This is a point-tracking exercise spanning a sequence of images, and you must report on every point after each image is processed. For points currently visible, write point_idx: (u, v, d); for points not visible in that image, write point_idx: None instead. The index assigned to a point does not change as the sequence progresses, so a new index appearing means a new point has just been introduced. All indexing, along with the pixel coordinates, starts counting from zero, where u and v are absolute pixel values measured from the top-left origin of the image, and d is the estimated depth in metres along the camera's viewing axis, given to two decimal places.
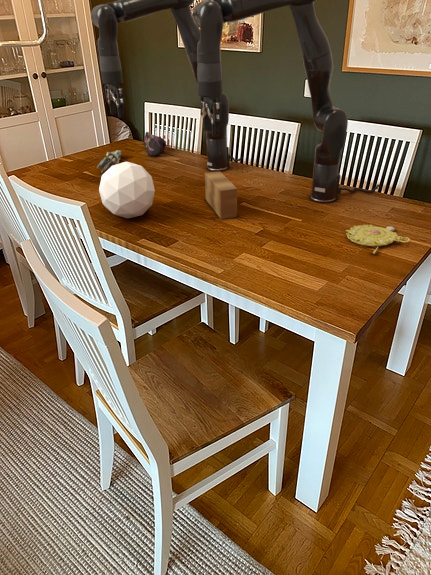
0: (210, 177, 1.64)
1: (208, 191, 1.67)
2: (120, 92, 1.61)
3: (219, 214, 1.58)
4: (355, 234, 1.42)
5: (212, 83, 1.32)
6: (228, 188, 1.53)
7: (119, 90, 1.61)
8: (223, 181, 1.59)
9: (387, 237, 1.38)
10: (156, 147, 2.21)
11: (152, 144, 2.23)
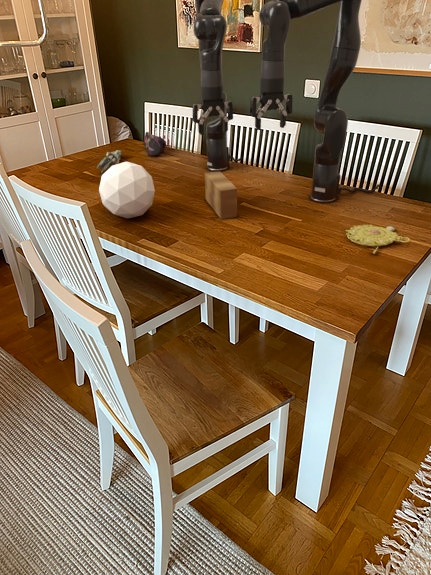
0: (210, 177, 1.64)
1: (208, 191, 1.67)
2: (193, 108, 1.52)
3: (219, 214, 1.58)
4: (355, 234, 1.42)
5: (261, 79, 1.41)
6: (228, 188, 1.53)
7: (193, 105, 1.52)
8: (223, 181, 1.59)
9: (387, 237, 1.38)
10: (156, 147, 2.21)
11: (152, 144, 2.23)
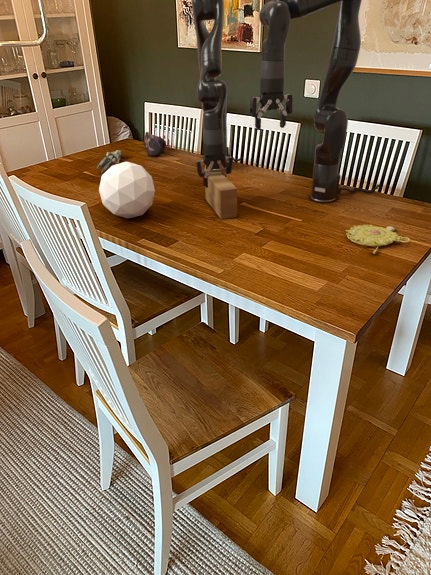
0: (210, 177, 1.64)
1: (208, 191, 1.67)
2: (196, 164, 1.62)
3: (219, 214, 1.58)
4: (355, 234, 1.42)
5: (261, 79, 1.41)
6: (228, 188, 1.53)
7: (196, 162, 1.62)
8: (223, 181, 1.59)
9: (387, 237, 1.38)
10: (156, 147, 2.21)
11: (152, 144, 2.23)
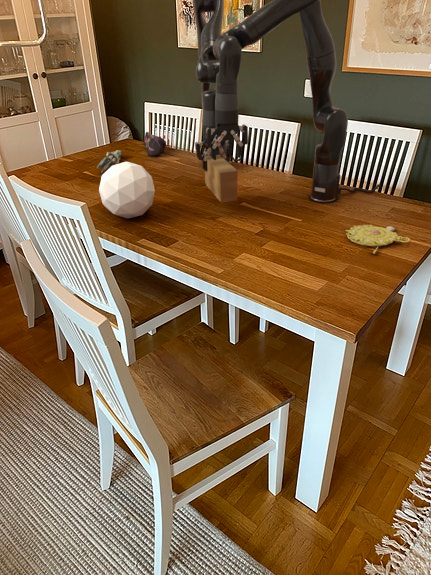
0: (210, 160, 1.60)
1: (208, 175, 1.64)
2: (195, 146, 1.59)
3: (219, 197, 1.55)
4: (355, 234, 1.42)
5: (215, 110, 1.41)
6: (228, 170, 1.50)
7: (195, 144, 1.59)
8: (223, 164, 1.56)
9: (387, 237, 1.38)
10: (156, 147, 2.21)
11: (152, 144, 2.23)
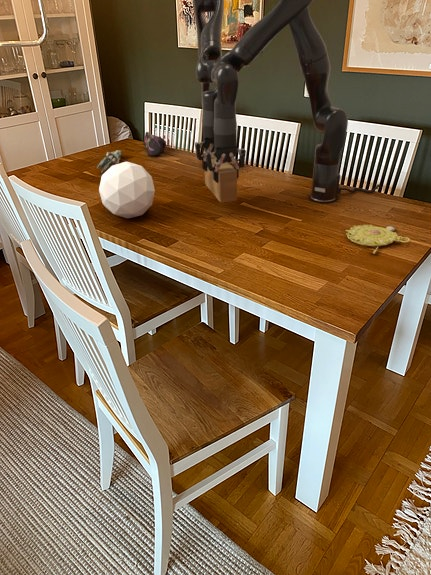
0: None
1: (207, 175, 1.64)
2: (195, 146, 1.59)
3: (219, 197, 1.55)
4: (355, 234, 1.42)
5: (214, 134, 1.45)
6: (228, 170, 1.50)
7: (195, 144, 1.59)
8: (223, 164, 1.56)
9: (387, 237, 1.38)
10: (156, 147, 2.21)
11: (152, 144, 2.23)
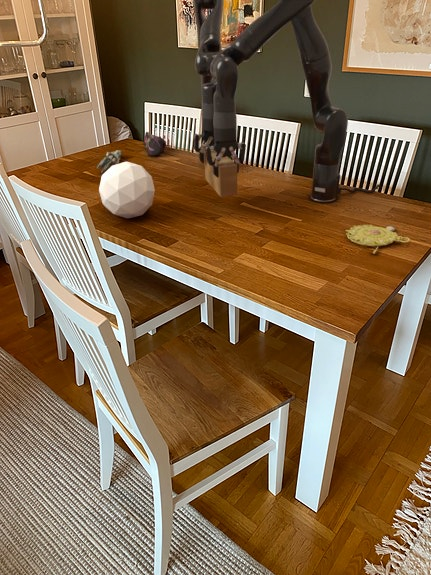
0: None
1: (207, 170, 1.63)
2: (194, 138, 1.58)
3: (219, 192, 1.54)
4: (355, 234, 1.42)
5: None
6: (228, 165, 1.49)
7: (194, 135, 1.58)
8: (223, 158, 1.55)
9: (387, 237, 1.38)
10: (156, 147, 2.21)
11: (152, 144, 2.23)
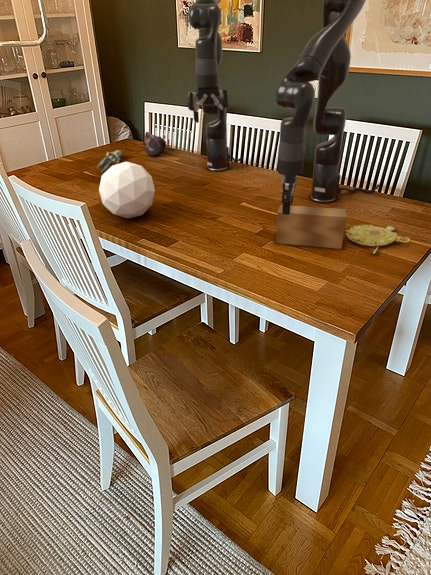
0: (326, 208, 1.36)
1: None
2: (188, 95, 1.55)
3: None
4: (355, 234, 1.42)
5: None
6: (282, 208, 1.37)
7: (188, 93, 1.55)
8: (306, 211, 1.35)
9: (387, 237, 1.38)
10: (156, 147, 2.21)
11: (152, 144, 2.23)
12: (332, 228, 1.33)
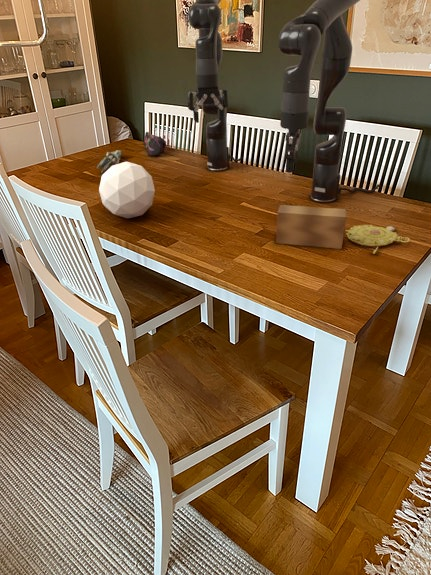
0: (326, 208, 1.36)
1: None
2: (188, 95, 1.55)
3: None
4: (355, 234, 1.42)
5: None
6: (282, 208, 1.37)
7: (188, 93, 1.55)
8: (306, 211, 1.35)
9: (387, 237, 1.38)
10: (156, 147, 2.21)
11: (152, 144, 2.23)
12: (332, 228, 1.33)
